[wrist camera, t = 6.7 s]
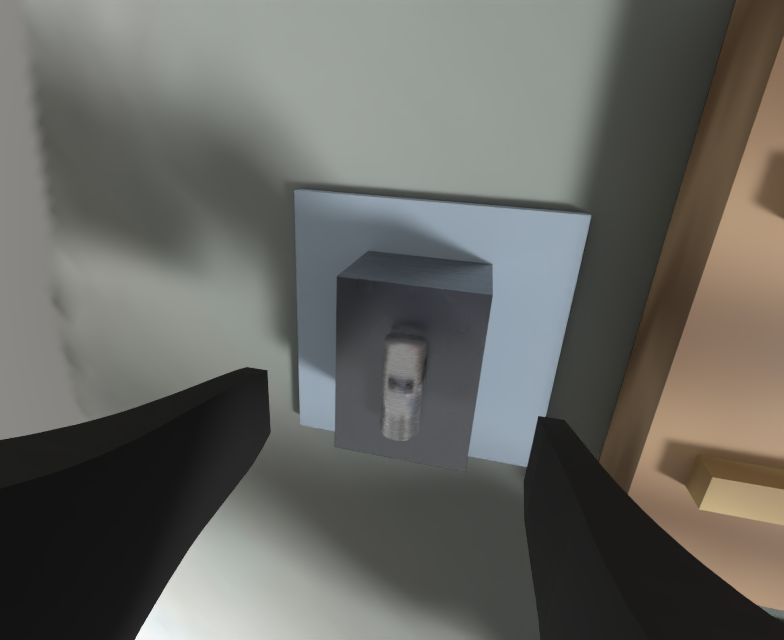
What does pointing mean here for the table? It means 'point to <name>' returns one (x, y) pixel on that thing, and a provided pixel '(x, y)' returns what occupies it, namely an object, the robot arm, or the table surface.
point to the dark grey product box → (410, 356)
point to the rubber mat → (456, 242)
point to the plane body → (718, 331)
